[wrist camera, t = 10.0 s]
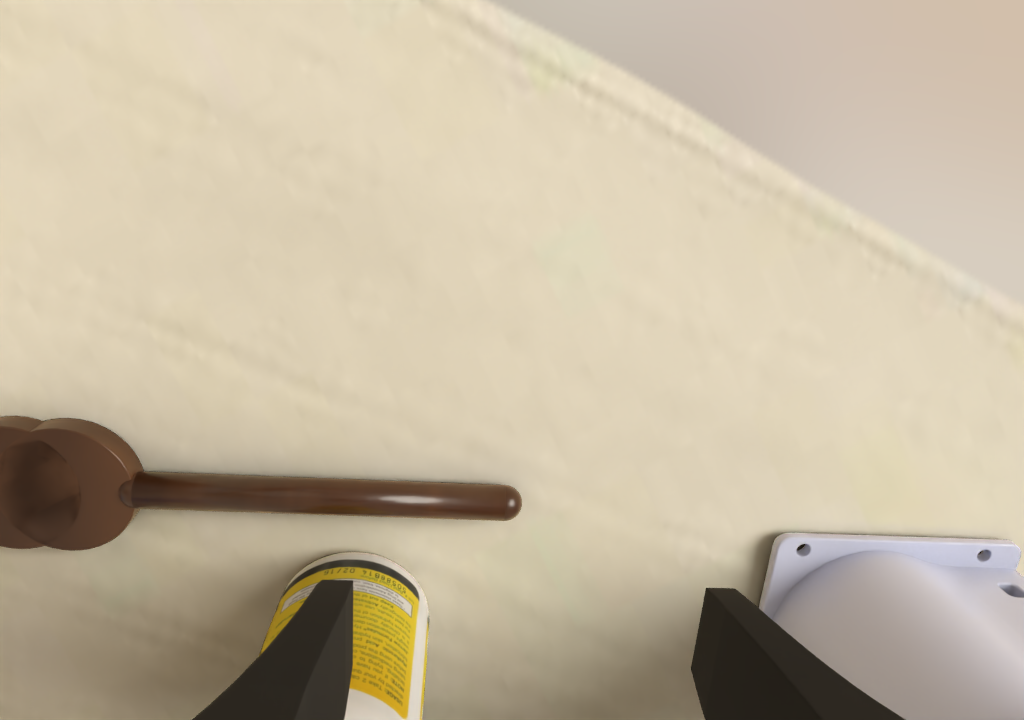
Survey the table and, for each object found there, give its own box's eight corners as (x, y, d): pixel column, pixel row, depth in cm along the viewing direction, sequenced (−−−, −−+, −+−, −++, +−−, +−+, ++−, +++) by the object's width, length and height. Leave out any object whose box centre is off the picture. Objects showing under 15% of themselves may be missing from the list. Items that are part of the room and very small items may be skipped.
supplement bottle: (257, 568, 26) (141, 826, 16) (404, 529, 25) (373, 766, 16) (309, 685, 27) (231, 978, 18) (447, 649, 27) (441, 925, 18)
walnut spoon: (525, 437, 25) (528, 452, 24) (515, 549, 26) (517, 568, 25) (-56, 411, 23) (-83, 427, 22) (-34, 532, 24) (-58, 553, 23)
